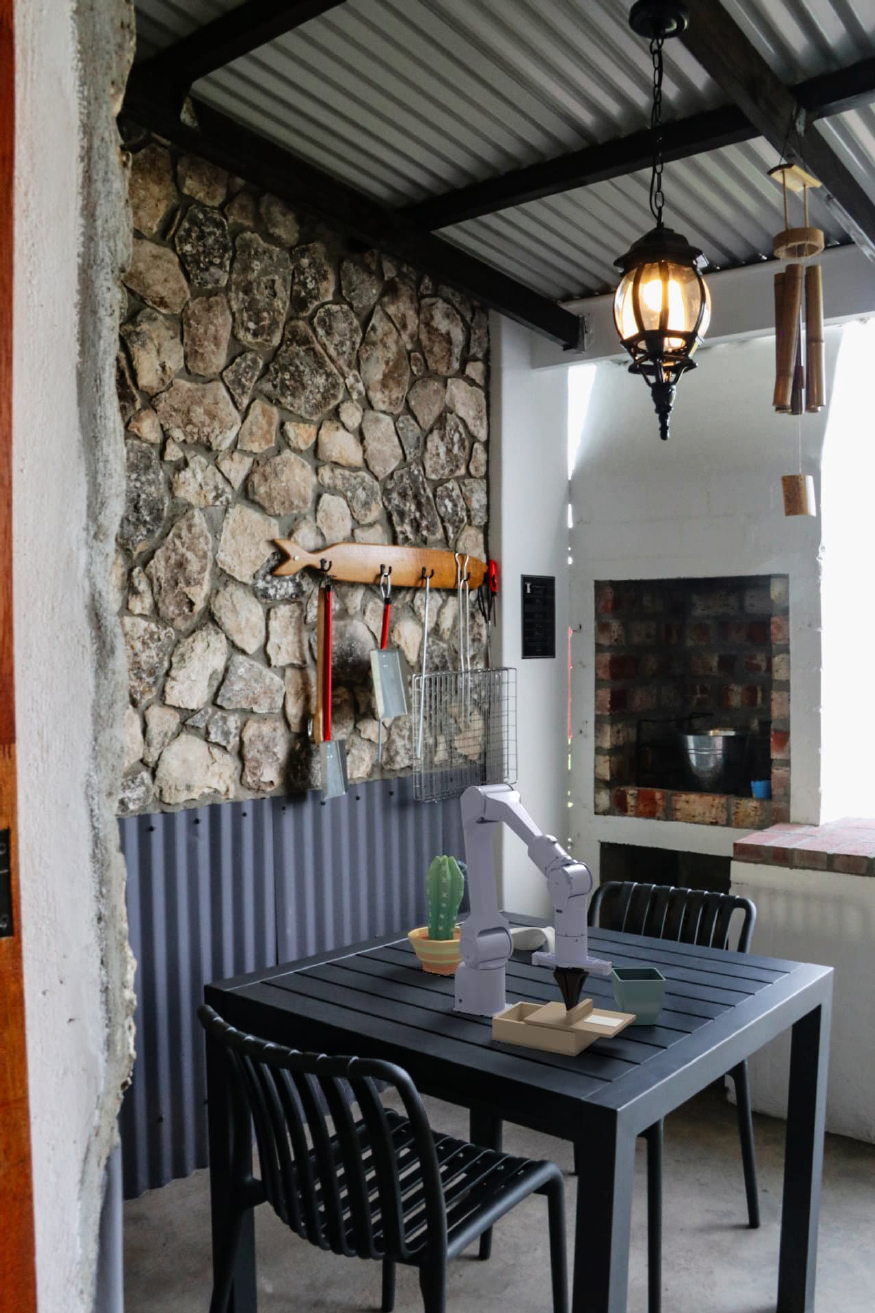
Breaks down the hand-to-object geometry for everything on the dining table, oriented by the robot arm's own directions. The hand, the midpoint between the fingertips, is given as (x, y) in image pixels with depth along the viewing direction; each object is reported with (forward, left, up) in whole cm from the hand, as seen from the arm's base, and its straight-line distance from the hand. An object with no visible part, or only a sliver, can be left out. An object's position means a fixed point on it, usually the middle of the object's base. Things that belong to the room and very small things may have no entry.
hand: (571, 1010), depth 191 cm
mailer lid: (+1, 0, -2) cm, 2 cm away
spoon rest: (-33, +52, -6) cm, 62 cm away
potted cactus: (-44, +29, -6) cm, 53 cm away
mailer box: (-5, 0, -6) cm, 8 cm away
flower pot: (+6, +17, -6) cm, 19 cm away
